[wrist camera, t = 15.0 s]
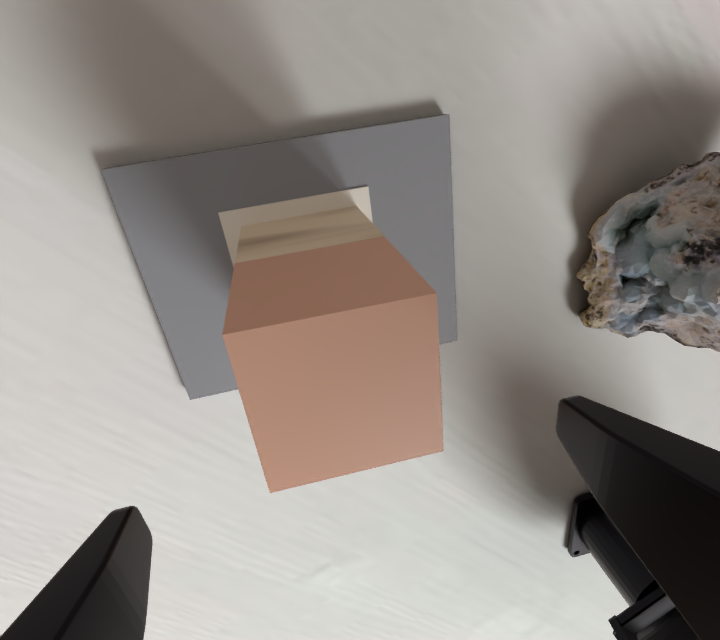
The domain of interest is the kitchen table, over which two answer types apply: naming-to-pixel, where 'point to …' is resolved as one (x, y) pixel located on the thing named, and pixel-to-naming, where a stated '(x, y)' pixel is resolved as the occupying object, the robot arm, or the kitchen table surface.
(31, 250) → the kitchen table surface
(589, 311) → the mineral specimen
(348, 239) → the beech cube
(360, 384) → the terracotta cube
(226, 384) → the slate board
